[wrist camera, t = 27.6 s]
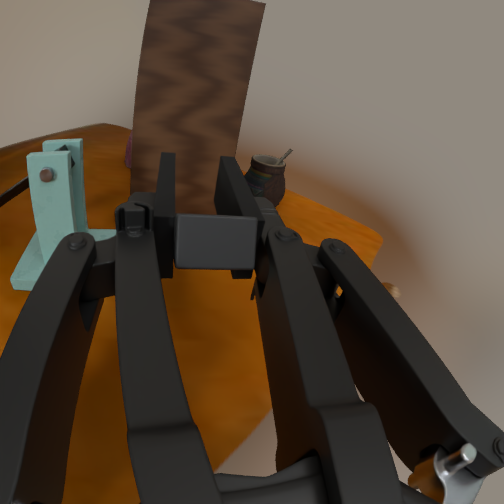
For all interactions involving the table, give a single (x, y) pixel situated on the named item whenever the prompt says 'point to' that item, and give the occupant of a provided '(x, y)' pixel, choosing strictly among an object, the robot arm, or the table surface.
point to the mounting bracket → (54, 206)
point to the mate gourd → (267, 177)
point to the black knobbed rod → (24, 183)
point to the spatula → (214, 242)
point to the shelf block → (192, 93)
